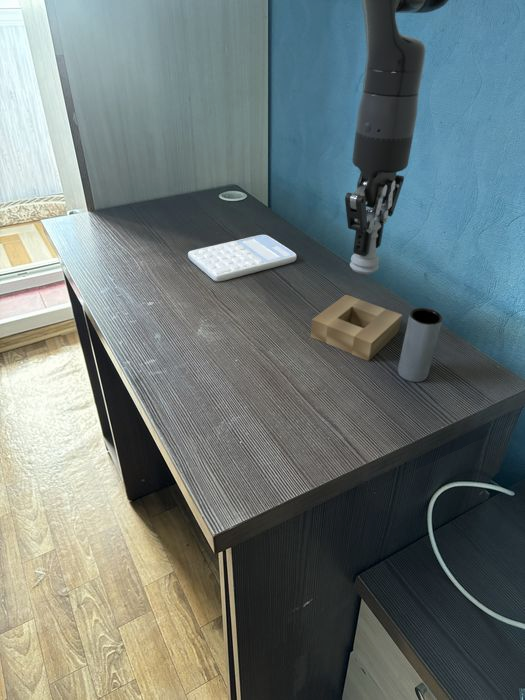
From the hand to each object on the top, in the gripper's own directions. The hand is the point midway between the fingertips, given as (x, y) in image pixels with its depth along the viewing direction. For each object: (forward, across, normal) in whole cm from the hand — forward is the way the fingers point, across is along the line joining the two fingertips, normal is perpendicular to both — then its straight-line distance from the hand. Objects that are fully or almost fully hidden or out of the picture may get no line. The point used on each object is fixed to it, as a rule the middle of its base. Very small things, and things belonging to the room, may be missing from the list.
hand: (366, 249), depth 78 cm
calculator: (+16, +10, +33) cm, 38 cm away
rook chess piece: (+3, 0, 0) cm, 3 cm away
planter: (+16, -4, -12) cm, 20 cm away
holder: (+16, 0, 0) cm, 16 cm away
